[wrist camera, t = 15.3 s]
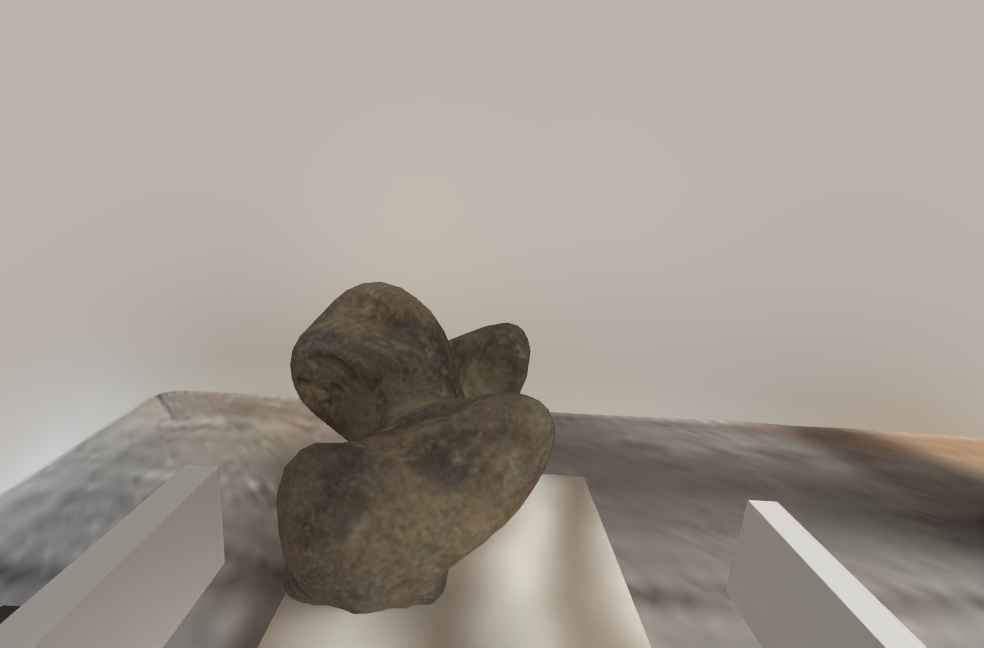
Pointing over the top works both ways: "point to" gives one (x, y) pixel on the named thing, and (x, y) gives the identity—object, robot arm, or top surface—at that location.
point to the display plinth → (499, 591)
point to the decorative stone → (404, 451)
